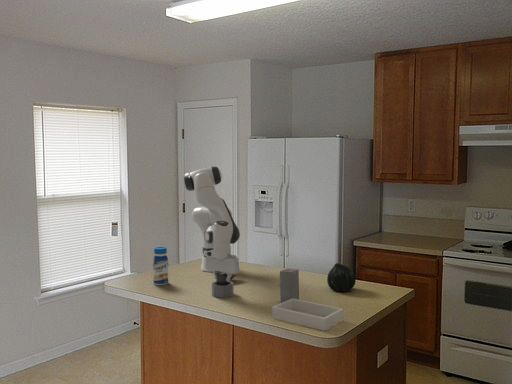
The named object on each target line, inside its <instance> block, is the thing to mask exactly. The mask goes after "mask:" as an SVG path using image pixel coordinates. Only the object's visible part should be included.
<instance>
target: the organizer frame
mask: <svg viewBox="0 0 512 384" xmlns="http://www.w3.org/2000/svg"><path fill="white" fill-rule="evenodd" d="M271 308H272V310H271V311H272V313H271V314H272V319H274V320H279V321H283V322H287V323H291V324H295V325H298V326H304V327H306V328H311V329H315V330H318V331H319V330H320V331H325V330H326V331H327V330H329V329H331V328H333V327H334V326H336V325H337V323H338V322H340V321H341V320H343V321H344V308H341V307H337V306H336V307H335V306H331V305H326V304H322V303H318V302H317V303H316V302H312V301H308V300H302V299H299V300H298V299H293V298H292V299H290V300H287V301H285V302H283V303H281V302H280V303H278V304H276V305H273V306H272V307H271ZM341 322H342V321H341ZM341 322H340V323H341ZM335 324H336V325H335ZM338 324H339V323H338ZM333 325H334V326H333ZM332 326H333V327H332ZM330 327H331V328H330ZM328 328H329V329H328Z"/></svg>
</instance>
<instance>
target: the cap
mask: <svg viewBox="0 0 512 384" xmlns="http://www.w3.org/2000/svg"><path fill="white" fill-rule="evenodd" d="M227 277H228V275H227V273H224V272H217V273H216V279H215V280H216V284H218V285H226V284H228V282H227V281H226V278H227Z"/></svg>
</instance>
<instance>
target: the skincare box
mask: <svg viewBox="0 0 512 384" xmlns="http://www.w3.org/2000/svg"><path fill="white" fill-rule="evenodd" d="M299 271H300V270H299V269H296V268H285V269H282V270H280V271H279V290H280V292H279V294H280V298H279V299H280V303H283V302H285V301H287V300H290V299H292V298H293V299H298V300H300V284H299V283H300V282H299V281H300V279H299Z"/></svg>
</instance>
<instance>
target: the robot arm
mask: <svg viewBox="0 0 512 384" xmlns="http://www.w3.org/2000/svg"><path fill="white" fill-rule="evenodd" d="M222 177H223V175H222V172H221V170H220V168H219V167H217V166H211V167H205V168H204V167H203V168H200V169H197V170H194V171H191V172H186V173H185V174H184V175H183V178H182V183H183V187H184V188H185V189H186V190H187V191H189V192H191V191H192V192H193V191H194V192H195V193H194V194H195V198H196V201H197V203H198V205H200V206H198V207H195V208H194V209H193V210H192V213H191V218H192V221H193V222H194V223H195V224H196V225H197V226H198V228H199V229H200V231H201V234H202V240H203V241H202V245H203V246H202V258H201V259H202V260H201V265H200V270H201V271H202V272H208V273H212V274H213V275H214V280H216V273H220V272H224V273H227V275H228V277H227V278H226V281H227V282H229V281H230V277H231V275H232V274H236V275H237V274H239V273H240V264H239V258H238V257H237V256H236V255H235V254H234V255H233V254H232V246H231V244H233V245H235V244H236V243H237V242H238V240H239V239H240V236H241V235H240V234H241V233H240V230H239V227H238V226H237V224H236V223H235V221H234V218H233V212H232V210H231V209H229V207H228V204H227V203H226V201H225V199H223V198H222V197H220V196H219V194H218V193H217V191H216V186H217V185H219V184H221V182H222Z"/></svg>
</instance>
